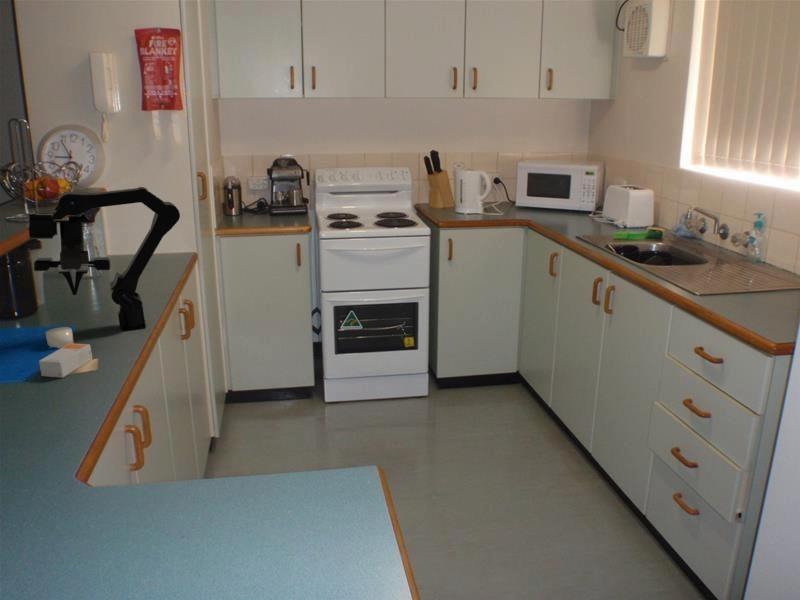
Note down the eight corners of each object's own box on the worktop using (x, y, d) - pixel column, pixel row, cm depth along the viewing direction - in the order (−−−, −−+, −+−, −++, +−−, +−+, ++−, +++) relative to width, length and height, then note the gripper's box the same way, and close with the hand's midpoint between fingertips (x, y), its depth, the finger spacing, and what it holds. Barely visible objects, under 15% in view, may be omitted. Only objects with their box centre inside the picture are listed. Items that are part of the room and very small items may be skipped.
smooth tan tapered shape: (98, 360, 180) (98, 358, 180) (98, 372, 173) (97, 369, 173) (55, 366, 177) (55, 364, 177) (53, 378, 170) (53, 376, 170)
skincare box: (90, 343, 178) (60, 362, 167) (93, 359, 180) (63, 378, 169) (69, 342, 180) (37, 360, 168) (72, 357, 181) (41, 377, 170)
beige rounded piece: (74, 339, 195) (72, 325, 193) (73, 347, 189) (71, 333, 188) (49, 342, 192) (46, 329, 191) (47, 350, 187) (44, 336, 185)
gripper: (29, 242, 179) (32, 301, 183) (107, 242, 186) (110, 299, 189) (35, 237, 190) (38, 293, 193) (109, 237, 196) (111, 291, 199)
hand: (74, 294), depth 193 cm, fingers closed
